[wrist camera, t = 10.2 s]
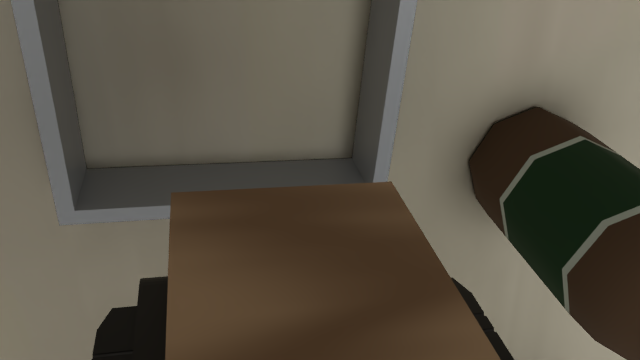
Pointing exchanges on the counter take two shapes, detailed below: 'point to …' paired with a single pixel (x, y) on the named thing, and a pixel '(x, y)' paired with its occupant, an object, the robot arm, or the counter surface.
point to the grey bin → (160, 181)
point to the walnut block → (310, 279)
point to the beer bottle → (568, 218)
